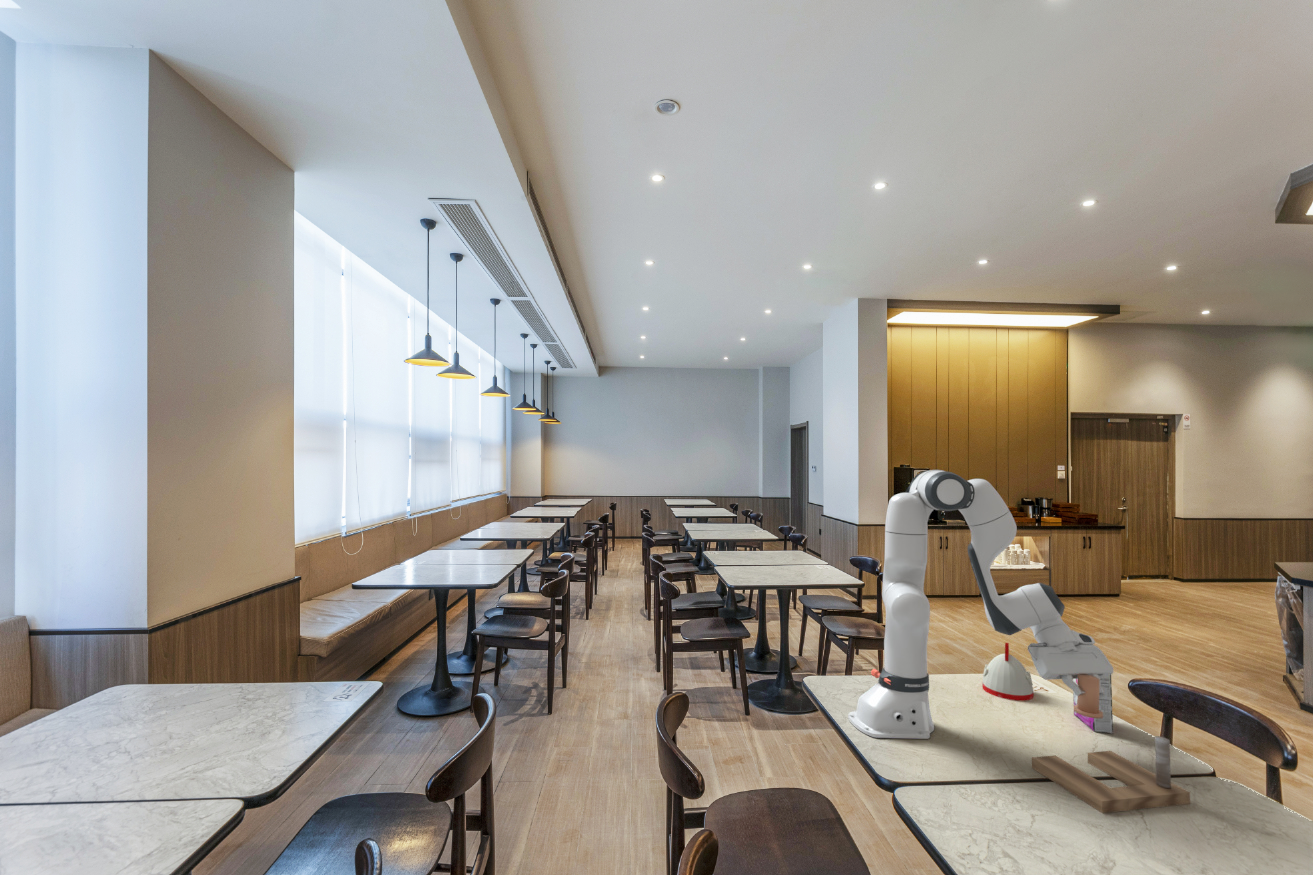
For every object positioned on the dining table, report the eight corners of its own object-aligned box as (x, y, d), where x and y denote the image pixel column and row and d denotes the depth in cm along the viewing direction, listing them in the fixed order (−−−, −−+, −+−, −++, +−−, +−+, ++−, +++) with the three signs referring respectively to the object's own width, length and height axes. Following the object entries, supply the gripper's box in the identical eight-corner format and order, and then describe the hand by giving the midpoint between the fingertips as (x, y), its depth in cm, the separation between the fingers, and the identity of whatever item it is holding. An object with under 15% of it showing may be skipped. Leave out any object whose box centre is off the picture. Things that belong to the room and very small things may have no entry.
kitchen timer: (1033, 689, 186) (1032, 642, 186) (1033, 704, 174) (1033, 654, 175) (983, 680, 193) (983, 635, 194) (981, 694, 182) (980, 645, 182)
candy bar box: (1072, 714, 167) (1071, 657, 168) (1091, 716, 166) (1090, 658, 167) (1093, 732, 156) (1091, 670, 157) (1114, 734, 155) (1112, 672, 156)
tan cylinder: (1088, 718, 143) (1089, 682, 143) (1067, 708, 149) (1068, 673, 149) (1109, 717, 144) (1109, 681, 144) (1087, 707, 150) (1087, 672, 150)
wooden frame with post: (1102, 812, 120) (1100, 751, 120) (1032, 767, 137) (1031, 714, 138) (1190, 803, 123) (1188, 744, 124) (1110, 760, 141) (1109, 709, 142)
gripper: (1031, 637, 152) (1063, 690, 142) (1097, 636, 156) (1132, 687, 146) (1017, 649, 156) (1047, 700, 146) (1082, 647, 160) (1115, 698, 150)
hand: (1090, 694), depth 146 cm, fingers closed on tan cylinder, 4 cm apart
